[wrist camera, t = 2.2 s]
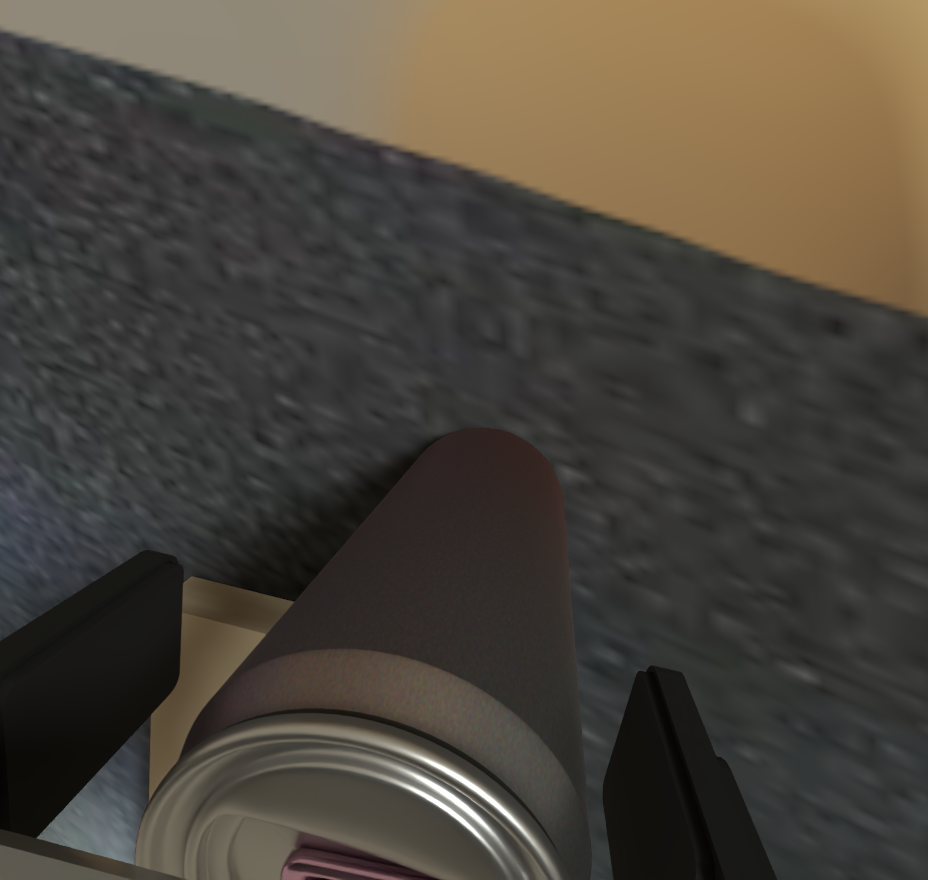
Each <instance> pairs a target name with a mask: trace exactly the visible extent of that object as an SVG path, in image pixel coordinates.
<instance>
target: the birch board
mask: <svg viewBox="0 0 928 880" xmlns="http://www.w3.org/2000/svg"><path fill="white" fill-rule="evenodd" d="M293 603H294V602H293V601H289V600H285V599H281V598H277V597H273V596H269V595H265V594H261V593H257V592H253V591H249V590H245V589H241V588H237V587H233V586H229V585H225V584H221V583H217V582H213V581H209V580H205V579H201V578H197V577H193V576H192V577H190V578H189V579H188V580H186V581H185V582H184V583H183V602H182V628H181V654H180V675H179V679H178V682H177V684H176V686H175V688H174V690H173V691H172V692H171V694H170V695H169V696H168V697H167V698H166V699H165V700H164V701H163V702H162V703H161V705H160V706H159V707H158V708H157V709H156V710H155V711H154V712H153V713H152V714H151V736H150V776H149V801H150V799H151V797H152V795H153V793H154V792H155V790H156V789H157V787H158V785H159V784H160V782H161V781H162V780H163V778H164V777H165V776H166V775H167V773H168V772H169V771H170V770H171V768H172V767H173V766H174V765H175V764H176V763H177V762H178V759H179V757H180V754H181V751H182V748H183V746H184V743H185V740H186V738H187V735H188V733H189V731H190V729H191V727H192V725H193V723H194V721H195V720H196V718H197V717H198V715H199V713H200V712H201V711H202V709H203V708H204V707H205V705H206V704H207V703H208V702H209V700H210V699H211V698H212V697H213V696H214V695H215V693H216V692H217V691H218V690H219V689H220V688H221V687H222V685H223V684H224V683H225V682H226V681H227V680H228V678H229V677H230V676H231V675H232V674H233V673H234V671H235V670H236V669H237V668H238V667H239V666H240V664H241V663H242V662H243V661H244V660H245V659H246V657H247V656H248V655H249V654H250V653H251V652H252V651H253V649H254V648H255V647H256V646H257V645H258V644H259V642H260V641H261V640H262V639H263V638H264V637H265V635H266V634H267V633H268V632H269V631H270V630H271V628H272V627H273V626H274V625H275V624H276V623H277V621H278V620H279V619H280V618H281V617H282V616H283V615H284V613H285V612H286V611H287V610H288V609H289V608H290V606H291V605H292V604H293Z"/></svg>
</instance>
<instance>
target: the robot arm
mask: <svg viewBox="0 0 928 880" xmlns="http://www.w3.org/2000/svg"><path fill="white" fill-rule="evenodd" d="M183 575H184V572H183V567H182V566H181V565H179V564H178V561H177V559H176V557H174V556H172V555H168V554H163V553H159V552H155V551H150V550H145V551H142V552H140V553H139V554H137V555H136V556H134V557H133V558H131V559H129V560H128V561H126V562H125V563H123V564H122V565H120V566H118V567H117V568H115V569H114V570H112V571H110V572H109V573H107V574H106V575H104V576H103V577H101V578H99V579H98V580H96V581H95V582H93V583H92V584H90V585H88V586H87V587H85V588H84V589H82V590H81V591H79V592H77V593H76V594H74V595H73V596H71V597H70V598H68V599H66V600H65V601H63V602H62V603H60V604H58V605H57V606H55V607H54V608H52V609H51V610H49V611H47V612H46V613H44V614H43V615H41V616H40V617H38V618H36V619H35V620H33V621H32V622H30V623H29V624H27V625H25V626H24V627H22V628H21V629H19V630H17V631H16V632H14V633H13V634H11V635H10V636H8V637H6V638H5V639H3V640H2V641H0V880H187V879H184V878H180V877H177V876H173V875H169V874H166V873H162V872H158V871H155V870H151V869H147V868H144V867H140V866H136V865H132V864H129V863H125V862H121V861H118V860H114V859H110V858H107V857H103V856H99V855H95V854H92V853H88V852H84V851H81V850H77V849H73V848H70V847H66V846H62V845H58V844H55V843H51V842H47V841H44V840H40V839H36V838H37V837H38V836H39V835H40V834H41V833H42V831H43V830H44V829H45V828H46V827H47V826H48V825H49V824H50V823H51V822H52V821H53V820H54V819H55V817H56V816H57V815H58V814H59V813H60V812H61V811H62V810H63V809H64V808H65V807H66V806H67V805H68V803H69V802H70V801H71V800H72V799H73V798H74V797H75V796H76V795H77V794H78V793H79V792H80V791H81V790H82V788H83V787H84V786H85V785H86V784H87V783H88V782H89V781H90V780H91V779H92V778H93V777H94V776H95V774H96V773H97V772H98V771H99V770H100V769H101V768H102V767H103V766H104V765H105V764H106V763H107V762H108V760H109V759H110V758H111V757H112V756H113V755H114V754H115V753H116V752H117V751H118V750H119V749H120V748H121V746H122V745H123V744H124V743H125V742H126V741H127V740H128V739H129V738H130V737H131V736H132V735H133V734H134V733H135V731H136V730H137V729H138V728H139V727H140V726H141V725H142V724H143V723H144V722H145V721H146V720H147V719H148V717H149V716H150V715H151V714H152V713H153V712H154V711H155V710H156V709H157V708H158V707H159V706H160V705H161V703H162V702H163V701H164V700H165V699H166V698H167V697H168V696H169V695H170V694H171V692H172V691H173V690H174V688H175V686H176V684H177V682H178V679H179V675H180V654H181V628H182V602H183ZM603 806H604V813H605V820H606V828H607V835H608V842H609V849H610V856H611V864H612V871H613V878H614V880H777V878H776V876H775V873H774V871H773V869H772V866H771V864H770V862H769V859H768V857H767V854H766V852H765V850H764V847H763V845H762V843H761V840H760V838H759V836H758V833H757V831H756V828H755V826H754V824H753V821H752V819H751V817H750V814H749V812H748V809H747V807H746V805H745V802H744V800H743V798H742V795H741V793H740V790H739V788H738V786H737V783H736V781H735V779H734V776H733V774H732V771H731V769H730V767H729V766H728V764H727V762H726V761H725V760H724V759H722V758H721V757H717V756H716V755H715V752H714V750H713V747H712V745H711V742H710V740H709V737H708V735H707V732H706V730H705V727H704V725H703V722H702V720H701V717H700V715H699V712H698V710H697V707H696V705H695V702H694V700H693V697H692V695H691V693H690V690H689V688H688V685H687V683H686V680H685V678H684V676H683V674H682V673H681V672H678V671H674V670H670V669H665V668H661V667H657V666H649V668H648V669H647V671H646V672H643V671H638V673H637V675H636V677H635V681H634V684H633V687H632V690H631V694H630V697H629V700H628V703H627V707H626V710H625V713H624V716H623V720H622V723H621V726H620V729H619V733H618V736H617V739H616V743H615V746H614V749H613V752H612V756H611V759H610V762H609V765H608V769H607V772H606V775H605V779H604V784H603Z"/></svg>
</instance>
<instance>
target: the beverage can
mask: <svg viewBox="0 0 928 880" xmlns="http://www.w3.org/2000/svg"><path fill="white" fill-rule="evenodd" d="M135 865H136V866H140V867H144V868H147V869H151V870H155V871H158V872H162V873H166V874H169V875H173V876H177V877H180V878H184V879H187V880H590V876H591V865H592V852H591V839H590V827H589V814H588V802H587V789H586V777H585V764H584V752H583V739H582V727H581V714H580V702H579V689H578V677H577V664H576V652H575V639H574V627H573V614H572V602H571V589H570V577H569V564H568V552H567V539H566V527H565V515H564V502H563V494H562V489H561V486H560V483H559V480H558V477H557V475H556V473H555V471H554V469H553V468H552V466H551V465H550V463H549V462H548V461H547V459H546V458H545V457H544V456H543V455H542V454H541V452H539V451H538V450H537V449H536V448H535V447H534V446H532V445H531V444H530V443H528V442H527V441H525V440H524V439H522V438H520V437H518V436H516V435H514V434H511V433H508V432H505V431H502V430H497V429H491V428H469V429H464V430H460V431H456V432H453V433H451V434H448V435H446V436H444V437H442V438H440V439H439V440H437V441H436V442H434V443H433V444H432V445H430V446H429V447H428V448H427V449H426V450H425V451H424V452H423V453H422V454H421V455H420V457H419V458H418V459H417V460H416V461H415V462H414V464H413V465H412V466H411V467H410V468H409V469H408V471H407V472H406V473H405V474H404V475H403V476H402V478H401V479H400V480H399V481H398V482H397V483H396V484H395V486H394V487H393V488H392V489H391V490H390V491H389V493H388V494H387V495H386V496H385V497H384V498H383V500H382V501H381V502H380V503H379V504H378V505H377V507H376V508H375V509H374V510H373V511H372V512H371V514H370V515H369V516H368V517H367V518H366V519H365V520H364V522H363V523H362V524H361V525H360V526H359V527H358V529H357V530H356V531H355V532H354V533H353V534H352V536H351V537H350V538H349V539H348V540H347V541H346V543H345V544H344V545H343V546H342V547H341V548H340V550H339V551H338V552H337V553H336V554H335V555H334V556H333V558H332V559H331V560H330V561H329V562H328V563H327V565H326V566H325V567H324V568H323V569H322V570H321V572H320V573H319V574H318V575H317V576H316V577H315V579H314V580H313V581H312V582H311V583H310V584H309V586H308V587H307V588H306V589H305V590H304V591H303V592H302V594H301V595H300V596H299V597H298V598H297V599H296V601H295V602H294V603H293V604H292V605H291V606H290V608H289V609H288V610H287V611H286V612H285V613H284V615H283V616H282V617H281V618H280V619H279V620H278V621H277V623H276V624H275V625H274V626H273V627H272V628H271V630H270V631H269V632H268V633H267V634H266V635H265V637H264V638H263V639H262V640H261V641H260V642H259V644H258V645H257V646H256V647H255V648H254V649H253V651H252V652H251V653H250V654H249V655H248V656H247V657H246V659H245V660H244V661H243V662H242V663H241V664H240V666H239V667H238V668H237V669H236V670H235V671H234V673H233V674H232V675H231V676H230V677H229V678H228V680H227V681H226V682H225V683H224V684H223V685H222V687H221V688H220V689H219V690H218V691H217V692H216V693H215V695H214V696H213V697H212V698H211V699H210V700H209V702H208V703H207V704H206V705H205V707H204V708H203V709H202V711H201V712H200V713H199V715H198V717H197V718H196V720H195V721H194V723H193V725H192V727H191V729H190V731H189V733H188V735H187V738H186V740H185V743H184V746H183V748H182V751H181V754H180V757H179V759H178V762H177V763H176V764H175V765H174V766H173V767H172V768H171V770H170V771H169V772H168V773H167V775H166V776H165V777H164V778H163V780H162V781H161V782H160V784H159V785H158V787H157V789H156V790H155V792H154V793H153V795H152V797H151V799H150V801H149V803H148V805H147V807H146V809H145V812H144V814H143V817H142V820H141V823H140V827H139V831H138V836H137V841H136V849H135Z"/></svg>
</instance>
